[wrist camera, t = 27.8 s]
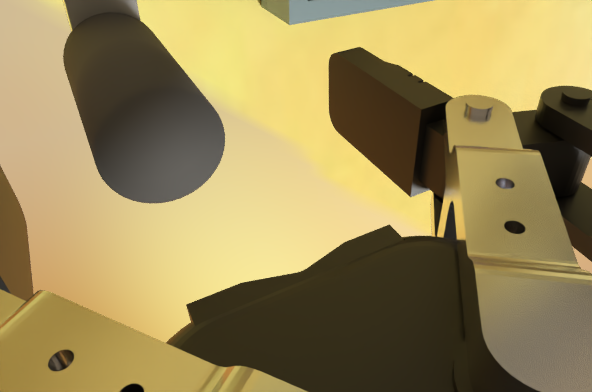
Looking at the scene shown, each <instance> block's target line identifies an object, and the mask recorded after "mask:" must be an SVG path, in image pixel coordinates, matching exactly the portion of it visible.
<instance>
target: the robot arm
mask: <svg viewBox="0 0 592 392" xmlns="http://www.w3.org/2000/svg"><path fill="white" fill-rule="evenodd" d="M329 113H330V118H331V121H332V124H333V126H334V128H335V129H336V131H337V132H338V133H339V134H340V135H342V136H343V137H344V138H345V139H346V140H347V141H348V142H349V143H351V144H352V145H353V146H354V147H355V148H356V149H357V150H358V151H359V152H361V153H362V154H363V155H364V156H365V157H366V158H367V159H368V160H370V161H371V162H372V163H373V164H374V165H375V166H376V167H377V168H379V169H380V170H381V171H382V172H383V173H384V174H385V175H386V176H388V177H389V178H390V179H391V180H392V181H393V182H394V183H395V184H397V185H398V186H399V187H400V188H401V189H402V190H403V191H404V192H405V193H407V194H408V195H409V196H410V197H412V196H415V195H417V194H420V193H423V192H425V191H428V190H431V191H432V198H431V235H432V236H409V237H401V236H400V235H399V234H398V233H397V232H396V231H395V230H394V229H393V228H392V227H391V226H390V225H387V226H385V227H382V228H380V229H377V230H375V231H372V232H369V233H367V234H364V235H362V236H359V237H357V238H355V239H352V240H349V241H347V242H345V243H343V244H342V245H340V246H339V247H337V248H336V249H334V250H333V251H331V252H330V253H329V254H327V255H326V256H324V257H323V258H321V259H320V260H318V261H317V262H316V263H314V264H313V265H311V266H310V267H308V268H307V269H305V270H304V271H301V272H298V273H293V274H287V275H282V276H276V277H271V278H265V279H260V280H255V281H249V282H244V283H240V284H238V285H235V286H233V287H230V288H227V289H225V290H222V291H220V292H217V293H215V294H212V295H210V296H207V297H205V298H202V299H200V300H197V301H194V302H192V303H189V304H187V305H186V306H187V309H188V312H189V316H190V320H191V323H189V324H188V325H187V326H185V327H184V328H182V329H181V330H180V331H179V332H178V333H176V334H175V335H174V336H173V337H172V338H170V339H169V340H168V341H167V342H166V343H164V342H162V341H160V340H158V339H155V338H153V337H151V336H149V335H146V334H144V333H142V332H139V331H137V330H135V329H133V328H130V327H128V326H126V325H124V324H121V323H119V322H117V321H115V320H112V319H110V318H108V317H105V316H103V315H101V314H99V313H97V312H94V311H92V310H90V309H88V308H85V307H83V306H81V305H79V304H76V303H74V302H72V301H69V300H67V299H65V298H63V297H61V296H58V295H56V294H54V293H51V292H49V291H45V290H40V291H37V292H36V293H35V294H34V295H33V285H32V274H31V264H30V254H29V244H28V235H27V225H26V221H25V217H24V214H23V211H22V208H21V206H20V204H19V202H18V200H17V197H16V195H15V193H14V192H13V189H12V188H11V186H10V184H9V182H8V180H7V178H6V176H5V174H4V172H3V170H2V168H1V166H0V392H592V274H591V273H590V272H589V271H585V270H582V269H581V268H580V267H579V265H578V262H577V260H576V257H575V254H574V251H573V248H572V246H573V247H574V248H575V249H577V250H578V251H579V252H580V253H582V254H583V255H584V256H585V257H587V258H588V259H589V260H590V261H592V189H591V188H589V187H588V186H586V185H585V184H583V183H582V182H581V181H582V178H583V176H584V173H585V170H586V168H587V165H588V163H589V160H590V158H591V157H592V90H589V89H585V88H580V87H574V86H557V87H551V88H548V89H546V90H544V91H543V92H542V94H541V97H540V100H539V104H538V107H537V110H530V111H520V112H512V111H511V108H510V107H509V106H508V105H507V104H505V103H504V102H502V101H500V100H498V99H495V98H492V97H487V96H481V95H464V96H459V97H456V98H452V97H451V96H449V95H447V94H446V93H444V92H442V91H441V90H439V89H437V88H436V87H434V86H432V85H431V84H429V83H427V82H423V80H422V79H421V78H419V77H417V76H416V75H414V76H413V74H412V73H411V72H409V71H407V70H406V69H404V68H402V67H400V66H398V65H395V64H391V63H388V62H384V61H383V60H381V59H379V58H378V57H376V56H375V55H373V54H371V53H370V52H368V51H366V50H365V49H363V48H361V47H358V48H354V49H350V50H346V51H342V52H338V53H334V54H332V55H331V57H330V60H329Z"/></svg>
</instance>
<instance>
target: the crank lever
mask: <svg viewBox="0 0 592 392" xmlns="http://www.w3.org/2000/svg"><path fill="white" fill-rule="evenodd" d="M63 3H64V7H65V11H66V14H67V18H68V22H69V26H70V29H71V33H70V35H69V37H68V39H67V41H66V44H65V48H64V56H63V57H64V66H65V70H66V74H67V77H68V80H69V83H70V86H71V89H72V92H73V95H74V98H75V101H76V105H77V108H78V110H79V114H80V117H81V120H82V123H83V126H84V129H85V132H86V135H87V139H88V142H89V145H90V148H91V151H92V154H93V157H94V160H95V164H96V166H97V169H98V172H99V174H100V175H101V177H102V179H103V180H104V181H105V182H106V184H107V185H108V186H109V187H110V188H111V189H112V190H114V191H115V192H116V193H118V194H119V195H121V196H123V197H125V198H128V199H131V200H133V201H137V202H142V203H163V202H169V201H173V200H176V199H179V198H182V197H184V196H186V195H188V194H190V193H192V192H194V191H195V190H196V189H198V188H199V187H201V186H202V185H203V184H204V183H205V182H206V181H207V180H208V179H209V178H210V177H211V176H212V174H213V173H214V171H215V170H216V168H217V167H218V165H219V163H220V161H221V158H222V155H223V151H224V146H225V133H224V127H223V124H222V121H221V119H220V117H219V115H218V113H217V112H216V111H215V109H214V108H213V106H212V105H211V104H210V103H209V101H208V100H207V99H206V98H205V96H204V95H203V94H202V93H201V92H200V90H199V89H198V88H197V87H196V85H195V84H194V83H193V82H192V80H191V79H190V78H189V77H188V75H187V74H186V73H185V72H184V70H183V69H182V68H181V67H180V65H179V64H178V63H177V62H176V61H175V59H174V58H173V57H172V56H171V54H170V53H169V52H168V51H167V49H166V48H165V47H164V46H163V44H162V43H161V42H160V41H159V39H158V38H157V37H156V36H155V34H154V33H153V32H152V31H151V30H150V29H149V28H148V27H147V26H146V25H145V24H144V23H143V22H141V21H140V17H139V11H138V6H137V1H136V0H63Z"/></svg>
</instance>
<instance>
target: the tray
mask: <svg viewBox="0 0 592 392" xmlns="http://www.w3.org/2000/svg"><path fill="white" fill-rule="evenodd" d="M427 1H433V0H261V7H263V8H264V9H266V10H267V11H269V12H270V13H272V14H274V15H275V16H277V17H278V18H280V19H281V20H283V21H284V22H286V23H287V24H289V25H292V24H298V23H304V22H310V21H316V20H321V19H327V18H333V17H339V16H345V15H351V14H357V13H362V12H368V11H374V10H380V9H386V8H392V7H398V6H404V5H409V4H415V3H421V2H427Z"/></svg>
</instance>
